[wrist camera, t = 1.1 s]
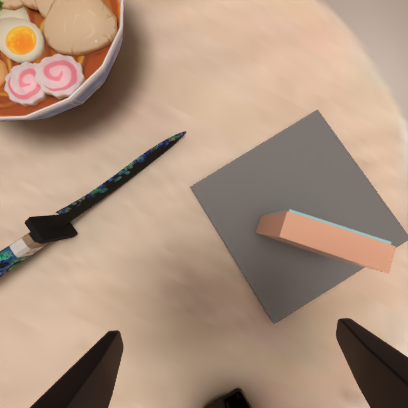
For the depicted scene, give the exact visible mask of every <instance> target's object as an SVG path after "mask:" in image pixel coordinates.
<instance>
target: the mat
mask: <svg viewBox="0 0 408 408" xmlns="http://www.w3.org/2000/svg"><path fill="white" fill-rule="evenodd" d="M190 188H191V189H192V191H193V193H194V194H195V196H196V197H197V199H198V201H199V202H200V204H201V206H202V207H203V209H204V211H205V212H206V214H207V215H208V217H209V219H210V220H211V222H212V224H213V225H214V227H215V229H216V230H217V232H218V233H219V235H220V237H221V238H222V240H223V242H224V243H225V245H226V247H227V248H228V250H229V252H230V253H231V255H232V256H233V258H234V260H235V261H236V263H237V265H238V266H239V268H240V270H241V271H242V273H243V274H244V276H245V278H246V279H247V281H248V283H249V284H250V286H251V288H252V289H253V291H254V292H255V294H256V296H257V297H258V299H259V301H260V302H261V304H262V306H263V307H264V309H265V310H266V312H267V314H268V315H269V317H270V319H271V320H272V322H273V324H275V323H276V322H278V321H280V320H281V319H283V318H284V317H286V316H288V315H289V314H291V313H292V312H294V311H296V310H297V309H299V308H300V307H302V306H304V305H305V304H307V303H308V302H310V301H312V300H313V299H315V298H316V297H318V296H320V295H321V294H323V293H324V292H326V291H328V290H329V289H331V288H332V287H334V286H336V285H337V284H339V283H340V282H342V281H344V280H345V279H347V278H348V277H350V276H352V275H353V274H355V273H356V272H358V271H360V270H361V269H363V268H364V267H363V266H359V265H355V264H352V263H348V262H344V261H341V260H337V259H333V258H329V257H326V256H322V255H319V254H316V253H313V252H310V251H308V250H305V249H302V248H299V247H296V246H293V245H290V244H287V243H284V242H281V241H278V240H275V239H272V238H269V237H266V236H263V235H260V234H257V233H256V230H257V226H258V223H259V220H260V217H261V216H263V215H265V214H270V213H274V212H279V211H283V210H288V209H291V210H294V211H297V212H301V213H304V214H307V215H310V216H313V217H316V218H319V219H322V220H325V221H328V222H331V223H334V224H337V225H341V226H344V227H347V228H350V229H353V230H356V231H359V232H362V233H365V234H368V235H371V236H374V237H378V238H381V239H384V240H387V241H390V242H391V245H393V246H396V247H398V246H400V245H401V244H403V243H404V242H406V241H408V234H407V233H406V232H405V230H404V229H403V227H402V226H401V225H400V223H399V222H398V220H397V219H396V218H395V216H394V215H393V213H392V212H391V211H390V209H389V208H388V207H387V205H386V204H385V202H384V201H383V200H382V198H381V197H380V195H379V194H378V193H377V191H376V190H375V189H374V187H373V186H372V184H371V183H370V182H369V180H368V179H367V177H366V176H365V175H364V173H363V172H362V170H361V169H360V168H359V166H358V165H357V164H356V162H355V161H354V159H353V158H352V157H351V155H350V154H349V152H348V151H347V150H346V148H345V147H344V145H343V144H342V143H341V141H340V140H339V139H338V137H337V136H336V134H335V133H334V132H333V130H332V129H331V127H330V126H329V125H328V123H327V122H326V121H325V119H324V118H323V116H322V115H321V114H320V112H319V111H318V110H316V111H314V112H313V113H311V114H309V115H308V116H306V117H305V118H303V119H301V120H300V121H298V122H296V123H295V124H293V125H291V126H290V127H288V128H286V129H285V130H283V131H282V132H280V133H278V134H277V135H275V136H273V137H272V138H270V139H268V140H267V141H265V142H263V143H262V144H260V145H258V146H257V147H255V148H254V149H252V150H250V151H249V152H247V153H245V154H244V155H242V156H240V157H239V158H237V159H235V160H234V161H232V162H230V163H229V164H227V165H226V166H224V167H222V168H221V169H219V170H217V171H216V172H214V173H212V174H211V175H209V176H207V177H206V178H204V179H202V180H201V181H199V182H198V183H196V184H194V185H193V186H191V187H190ZM396 247H395V248H396Z"/></svg>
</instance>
